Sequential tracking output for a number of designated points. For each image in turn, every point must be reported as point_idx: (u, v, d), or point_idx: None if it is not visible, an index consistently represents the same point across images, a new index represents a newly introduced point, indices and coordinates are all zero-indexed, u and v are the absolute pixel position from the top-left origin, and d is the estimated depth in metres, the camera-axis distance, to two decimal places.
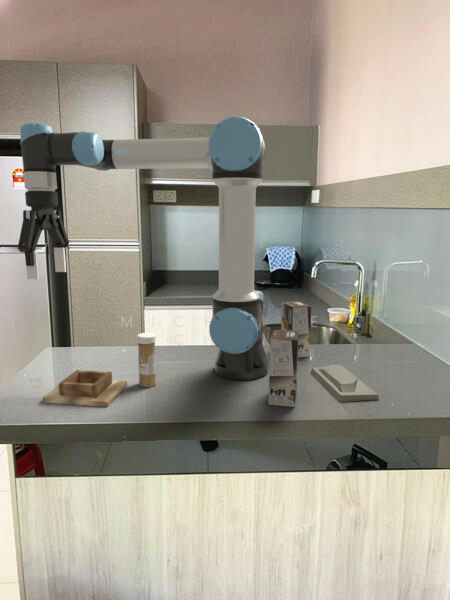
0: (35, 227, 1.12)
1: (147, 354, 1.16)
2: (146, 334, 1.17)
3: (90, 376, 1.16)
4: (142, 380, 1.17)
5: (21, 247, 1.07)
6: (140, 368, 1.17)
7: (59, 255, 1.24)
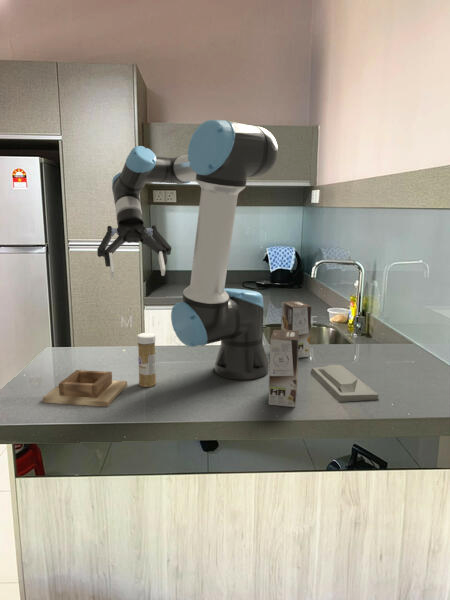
0: None
1: (147, 354, 1.16)
2: (146, 334, 1.17)
3: (90, 376, 1.16)
4: (142, 380, 1.17)
5: (97, 252, 1.25)
6: (140, 368, 1.17)
7: (159, 259, 1.28)
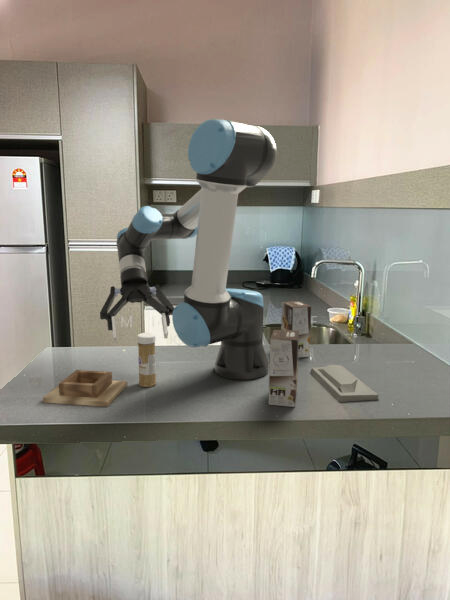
0: None
1: (147, 354, 1.16)
2: (146, 334, 1.17)
3: (90, 376, 1.16)
4: (142, 380, 1.17)
5: (100, 315, 1.24)
6: (140, 368, 1.17)
7: (162, 321, 1.27)
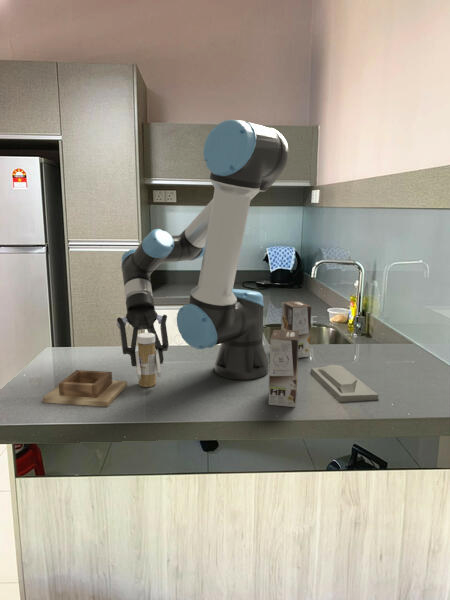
0: (133, 330, 1.21)
1: (147, 354, 1.16)
2: (146, 334, 1.17)
3: (90, 376, 1.16)
4: (142, 380, 1.17)
5: (123, 351, 1.18)
6: (140, 368, 1.17)
7: (155, 359, 1.18)
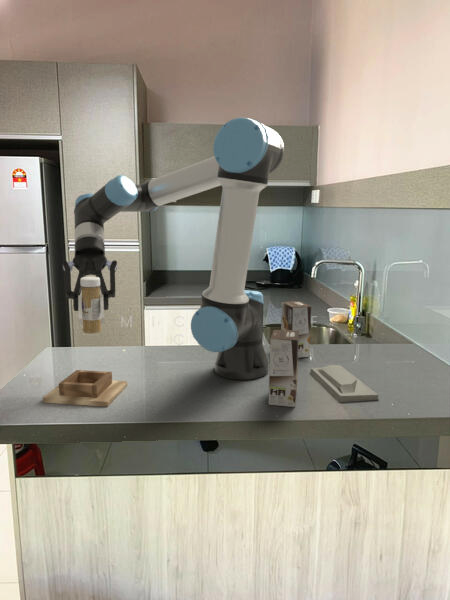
0: None
1: (90, 298, 1.09)
2: (90, 277, 1.10)
3: (90, 376, 1.16)
4: (86, 326, 1.11)
5: (66, 295, 1.11)
6: (83, 313, 1.10)
7: None
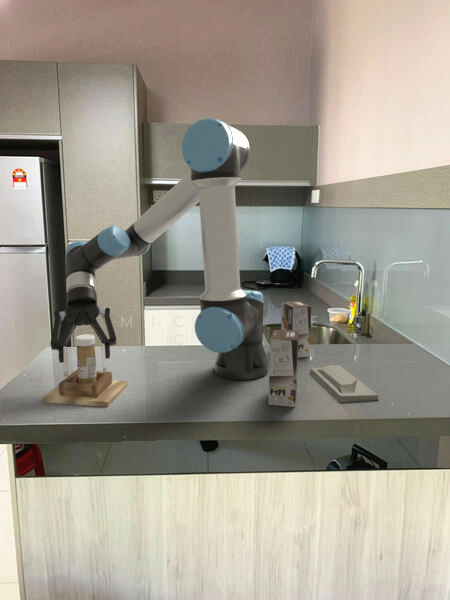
0: None
1: (85, 357, 1.10)
2: (85, 336, 1.11)
3: None
4: None
5: (51, 346, 1.11)
6: (79, 371, 1.11)
7: None
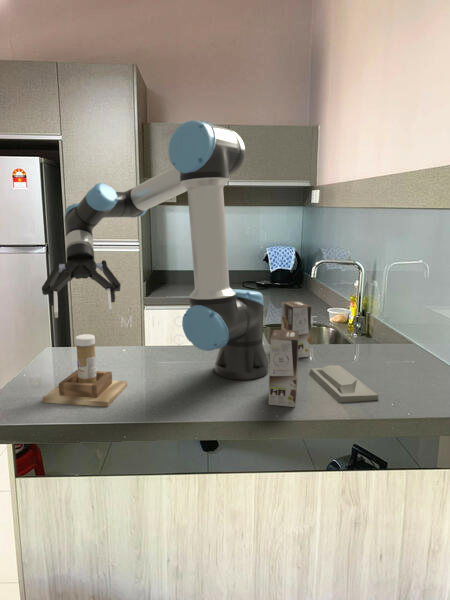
0: None
1: (85, 357, 1.10)
2: (85, 336, 1.11)
3: None
4: None
5: (42, 291, 1.22)
6: (79, 371, 1.11)
7: (107, 297, 1.24)
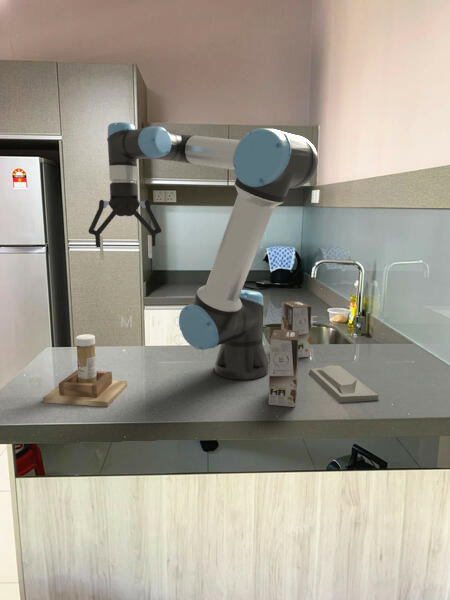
0: None
1: (85, 357, 1.10)
2: (85, 336, 1.11)
3: None
4: None
5: (88, 230, 1.28)
6: (79, 371, 1.11)
7: (148, 242, 1.33)
